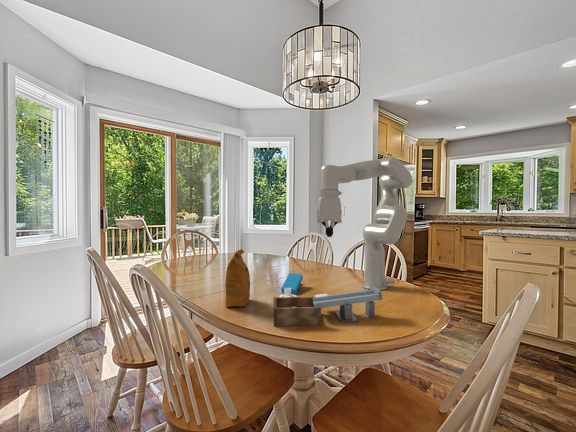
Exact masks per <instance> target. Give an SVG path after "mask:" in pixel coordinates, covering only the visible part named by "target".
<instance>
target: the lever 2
mask: <svg viewBox="0 0 576 432" xmlns="http://www.w3.org/2000/svg"><path fill="white" fill-rule="evenodd" d="M314 297H315V298H313V304H314V306H315V307H321V309H323V308H331V307H338V306H339V307H340V305H345V304H352V305H354V304H360V303H366V302H369V301H373V302H375V301H382V300H383V294H382V290H379V289H378V288H376V287H372V290H370V289H366V290H361V291H353V292H346V293H337V294H331V295H329V294H328V293H319V294H314Z"/></svg>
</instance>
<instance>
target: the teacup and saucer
mask: <svg viewBox="0 0 576 432" xmlns="http://www.w3.org/2000/svg"><path fill="white" fill-rule="evenodd" d="M278 297H298V296H297V294H291V288H285V289H284V293H282V294H280V295H279V296H278Z"/></svg>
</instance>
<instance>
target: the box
mask: <svg viewBox="0 0 576 432" xmlns="http://www.w3.org/2000/svg"><path fill="white" fill-rule="evenodd" d="M313 298H315V296H297V297H294V296H291V297H284V296H282V297H279V296H278V297H277V296H276V297H274V296H273V299H272V300H273V302H272V303H273V327H298V326H299V327H303V326H307V327H308V326H309V327H311V326H312V327H313V326H322V308H321V307H315V306H314V304H313Z"/></svg>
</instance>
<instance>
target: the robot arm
mask: <svg viewBox="0 0 576 432" xmlns="http://www.w3.org/2000/svg"><path fill="white" fill-rule="evenodd" d="M377 177H379V179H378V182H379V187H380V191H381V197H380V200H379V202H378V205H377V207H376V209H375V211H374V214H373V220H374V221H375V223H373V222H371V223H368V224H366V225H365V226H364V228H363V229H362V230H363V231H362V235H363V237H362V238H363V243H364V281H363V282H362V283H361V287H362V288H363V289H366V290H372V287H376V288H378V289H379V290H380V291H385V290H387V289H389V285H388V284H391V285H392V284H395V279H390V278H386V277H385V276H386V275H385V274H386V271H385V270H386V268H385V266H386V250H385V248H384V245H395V244H396V243H397V242H398V240H399V239H400V236H401V234H402V232H403V229H404V227H405V226H406V223H407V218H408V212H407V210H406V208H405V207H403V206H401V205H399V196H398V194H397V192H396V190H397V189H398V190H399V189H407V188H409V187H410V186H411V185H412V183H413V176H412V173H411V171H409V169H408V168H407V167H406V166H405V165H404V163H402V161H400V160H399V159H398V158H396V157H394V156H390V157H383V158H375V159H370V160H364V161H359V162H354V163H351V164H346V165H339V166H338V165H335V164H325V165H322V167H321V168H320V197H318V200H317V210H316V219H317V220H316V223H317V224H321V225H323V226H324V228H325V235H326V237H327V238H332V237H333V235H334V228H335V227H336V226H337V224H342V222H343V220H342V217H343V215H342V214H343V213H342V203H341V199H340V198H341V197H339V196H340V195H342V194H343V193H342V191H340V190H339V184H349V183H351V182H353V181H363V180H365V181H366V180H368V179H369V180H370V179H373V178H377ZM395 189H396V190H395ZM329 221H330V223H329ZM329 224H330V225H329Z"/></svg>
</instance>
